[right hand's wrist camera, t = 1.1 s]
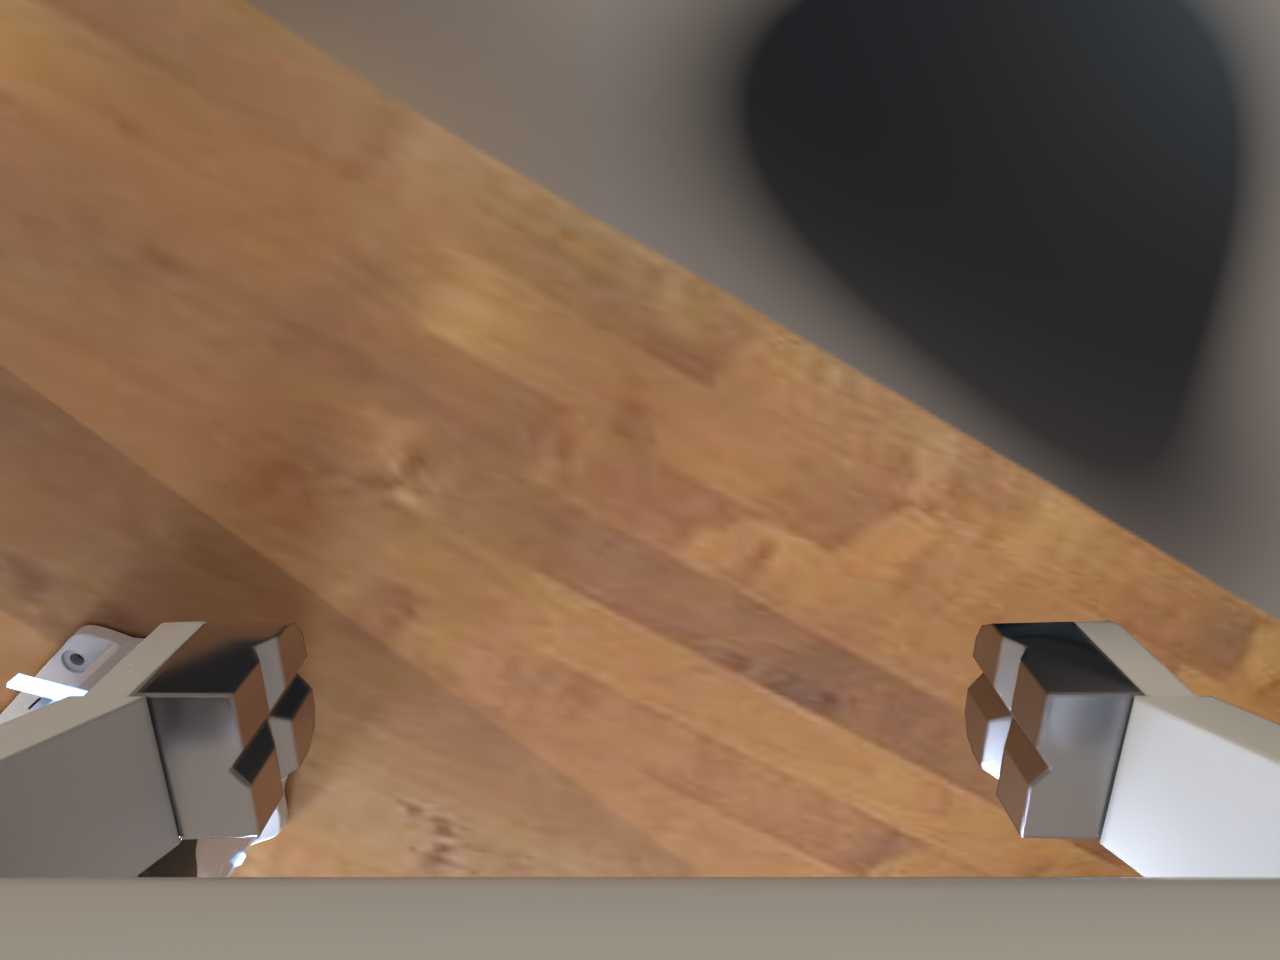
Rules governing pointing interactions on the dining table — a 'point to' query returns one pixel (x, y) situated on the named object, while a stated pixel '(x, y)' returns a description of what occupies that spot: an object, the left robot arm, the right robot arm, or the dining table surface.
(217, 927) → the right robot arm
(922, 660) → the dining table surface
